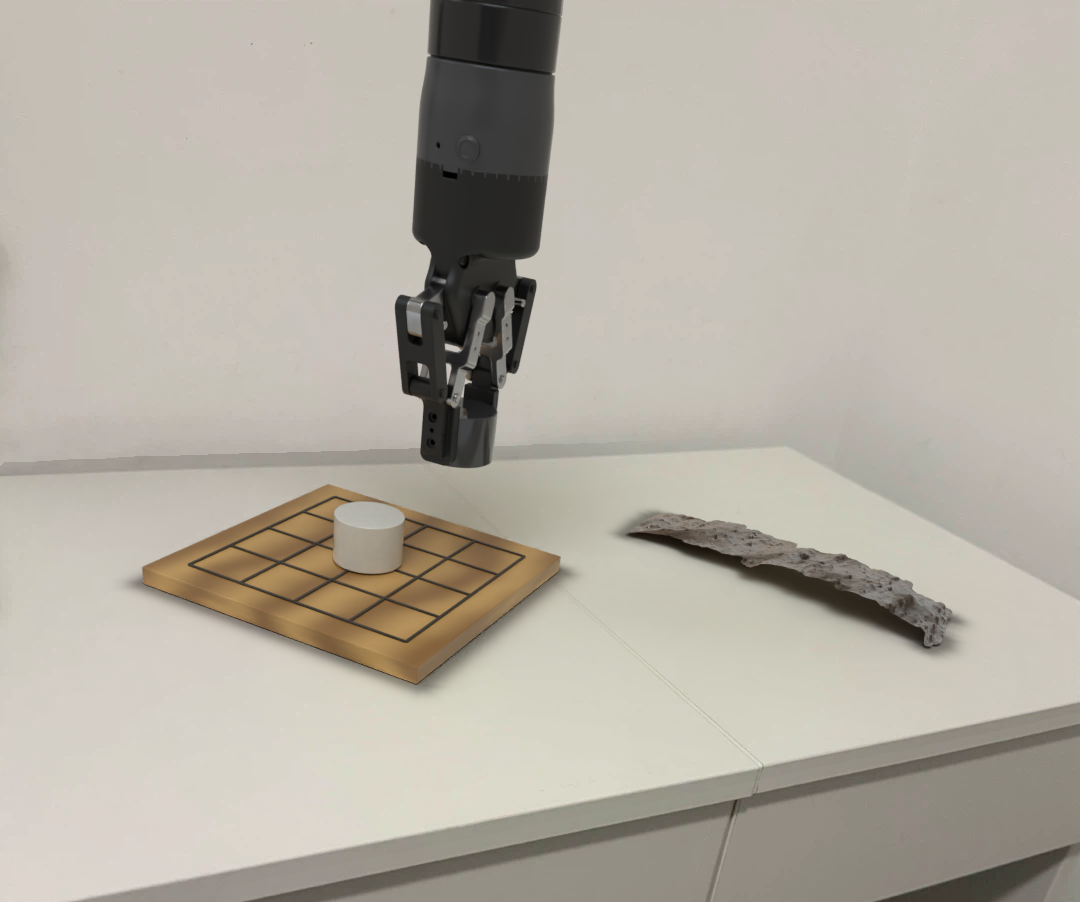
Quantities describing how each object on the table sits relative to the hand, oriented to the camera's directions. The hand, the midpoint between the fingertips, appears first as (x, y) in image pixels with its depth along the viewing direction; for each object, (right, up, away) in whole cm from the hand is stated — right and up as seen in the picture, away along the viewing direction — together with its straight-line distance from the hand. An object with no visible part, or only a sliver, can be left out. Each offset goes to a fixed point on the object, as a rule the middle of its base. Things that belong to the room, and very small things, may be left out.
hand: (457, 450), depth 69 cm
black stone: (0, 0, 0) cm, 0 cm away
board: (-6, -8, +3) cm, 11 cm away
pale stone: (-6, -7, +2) cm, 9 cm away
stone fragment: (+24, -7, +12) cm, 28 cm away
